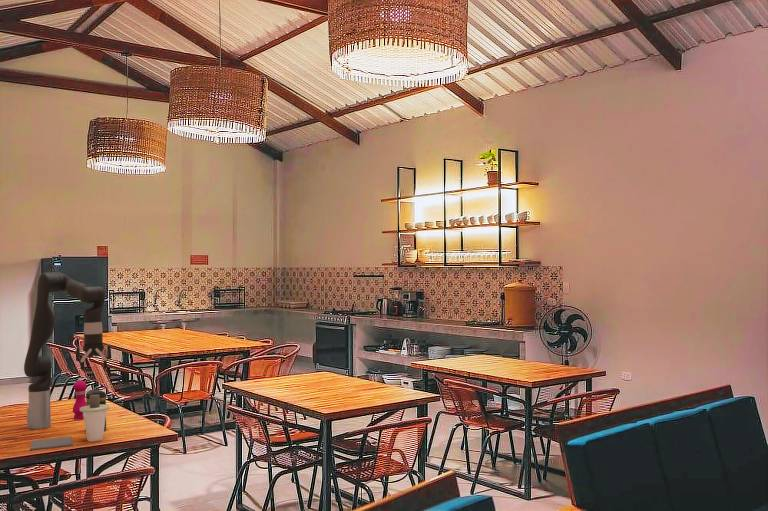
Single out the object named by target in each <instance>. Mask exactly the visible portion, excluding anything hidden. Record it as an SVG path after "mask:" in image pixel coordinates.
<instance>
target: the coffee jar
mask: <svg viewBox="0 0 768 511" xmlns="http://www.w3.org/2000/svg"><path fill="white" fill-rule="evenodd" d="M106 393H107V392H106V391H103V390H101V389H98V388H95V389H89V390H87V391H86V392H85V401H86V404H87V406H88V405H90V397H89V396H90V395H99V401H100V404H105V405H107V404H106V403H107V395H106ZM106 430H107V417H106V418H105V426H104V431H106Z"/></svg>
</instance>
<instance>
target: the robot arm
mask: <svg viewBox="0 0 768 511" xmlns="http://www.w3.org/2000/svg"><path fill="white" fill-rule="evenodd" d="M37 280H38V281H37V282H38V283H37V292H36V293H37V294H36V302H35V303H36V304H35V308H34V309H35V311H34V316H33V319H32V320H33V321H32V327H31V333H30V340H29V345H28V348H27V352H26V355H25V356H26V357H25V359H24V364H23V365H24V366H23V372H24V374H25V376H26V377H27V378H34V377H38V379H37V380H35V381H33V382H32V383H30V384H29V385H28V388H27V389H28V407H27V408H26V418H27V419H26V423H27V424H26V427H27V428H26V429H29V430H42V429H46V428H50V427H51V426H52V420H51V419H52V418H51V417H52V416H51V412H52V411H51V410H52V409H51V384H52V369H53V368H52V361H51V360H52V359H51V358H50V357H49V356H48V355H39V354H40V353H41V352H40V351H41V350H42V348H43V347H44V345H45V344H46V343H47V342H48V341H49V339H50V338H51V337H52V335H53V333H54V330H55V325H56V317H55V314H54V312H53V310H52V309H51V306H50V304H49V294H50V293H60V292H66V293H67V294H68V295H69V296H71V297H72V298H75V299H78V300H79V301H80V302H81V303H84V304H92V306H91V307H90V308H89V307H88V308H86V309H85V310H84V313H83V318H84V320H83V321H84V324H83V346H76V348H75V349H76V350H75V361H76V362H79V363H80V371H82V372H84V371H85V360H86V359H87V357H98V356H100V357H101V359H102V360H103V361H102V363H103V368H102V369H103V370H106V369H107V368H108V360H111V359H112V351H111V345H110V344H107V345H104V343H103V342H104V341H103V340H104V339H103V338H104V337H103V330H104V329H103V323H102V319H103V318H102V313H103V308H104V304H105V301H106V291H105V289H104V287H102V286H89V285H88V284H86V283H83V282H80V281H77V280H74V279H73V278H71V277H69V276H68V275H66V274H64V273H62V272H58V271H56V272H55V271H54V272H53V271H52V272H48V271H47V272H42V273H41V274H40V275H39V276H38V279H37ZM104 349H105V351H107V356H106V355H104V353H103V350H104ZM82 350H83V351H84V355H83V356H82V357H81V358H80V353H81V352H82Z"/></svg>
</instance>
